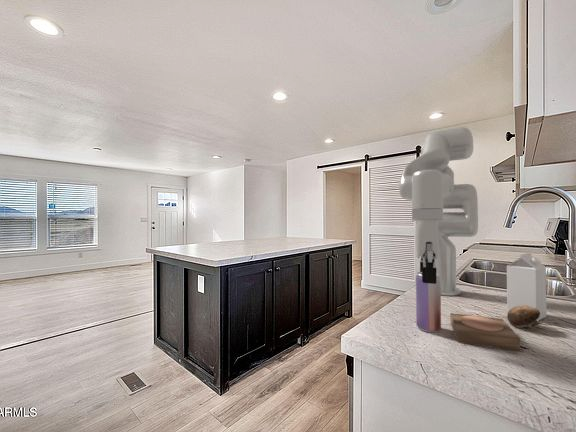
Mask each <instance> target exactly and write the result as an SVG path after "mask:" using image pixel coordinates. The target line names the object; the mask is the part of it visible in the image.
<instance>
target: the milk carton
mask: <svg viewBox="0 0 576 432" xmlns="http://www.w3.org/2000/svg"><path fill="white" fill-rule="evenodd" d="M519 254H520V255H519V256H520V257H519V258H517V259H515V260H514V261H512V262H510V263H509V264H507V265H506V306H507V307H506V311H507V312H506V314H507V315H508V312H509V310H510V309H511V308H513V307H516V306H529V307H534V308H536V309H538V310H539V312H540V316H539V318H538V319H537V321H538V322H539V321H541V320H543V319H544V318H546V317H547V267H546V266H545V265H544V264H543V263H541V262H542V261H541V260H540V259H538V258H537V257H534V256H533V255H532V252H531V251H529V252H524V253H519Z"/></svg>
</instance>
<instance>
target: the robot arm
mask: <svg viewBox="0 0 576 432" xmlns="http://www.w3.org/2000/svg"><path fill="white" fill-rule="evenodd" d="M473 153H474V136H473V134H472V131H471V130H470V129H469V128H468V127H464V126H461V127H460V126H459V127H455V128H448V129H442V130H436V131H433V132H431V133H429V134H428V135H427V136H426V137H425V139H424V140H423V144H422V146H421V148H420V154H421V155H419V156H417V157H416V158H414V159H413V160H412V161H410V162H409V163H408V164H407V165H405V166H404V168H403V170H402V173H401V177H400V180H399V187H398V190H399V194H400V196H401V198H402V199H404V200H406V201H411V222H415V223H416V224H415V257H416V258H417V259H420V261H419V272H422V282H423V283H430V284H436V283H437V280H436V273H437V274H439V275H440V279H441V296H448V297H449V296H451V297H453V296H454V297H455V296H459V295H461V294H462V290H461V289H460V288H458V287H457V249H456V245H455V244H454V242H452V240H450V239H449V238H452V237H453V238H454V237H455V238H456V237H459V238H460V237H462V238H470V237H471V238H472V237H475V236H476V235H477V234H478V230H479V208H478V207H479V205H478V202H479V201H478V200H479V199H478V192H477V189H476V187H475V186H474V185H473V184H470V183H463V184H462V183H461V184H459V183H458V184H455V173H454V171H453V169H452V168H451V167H450V166H449V163H450V162H452V161H453V162H454V161H462V160H468V159H469V158H471V156H472V155H473ZM457 209H458V210H462V211H463V212H462V211H455V212H454V211H453V212H451V211H448V212H447V211H445V212H444V210H457ZM448 237H449V238H448Z"/></svg>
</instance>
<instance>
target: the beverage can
mask: <svg viewBox="0 0 576 432" xmlns="http://www.w3.org/2000/svg"><path fill="white" fill-rule="evenodd" d="M436 280H437V283H436V284H430V283H423V282H422V272H420V271H417V272H416V276H415V303H416V304H415V305H416V306H415V309H416V310H415V311H416V316H415V317H416V319H415V320H416V321H415V322H416V326H417V328H418V329H419V330H420V331H422V332H426V333H430V334H431V333H432V334H436V333H439V332H440V331H441V329H442V303H441V302H442V300H441V299H442V295H441V279H440V275H439V274H437V273H436Z"/></svg>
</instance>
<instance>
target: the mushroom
mask: <svg viewBox="0 0 576 432" xmlns="http://www.w3.org/2000/svg"><path fill="white" fill-rule="evenodd" d="M539 316H540V312H539V310H538V309H536V308H534V307H529V306H516V307H513V308H511V309H510V310H509V312H508V314H507V316H506V317H507V321H508V322H509V324H510V325H511V326H513V327H515V328H524V327H528V328H529V329H531V328H534V327H537V326H539V325H541V324H542V322H539V321H537V319H538V318H539Z"/></svg>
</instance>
